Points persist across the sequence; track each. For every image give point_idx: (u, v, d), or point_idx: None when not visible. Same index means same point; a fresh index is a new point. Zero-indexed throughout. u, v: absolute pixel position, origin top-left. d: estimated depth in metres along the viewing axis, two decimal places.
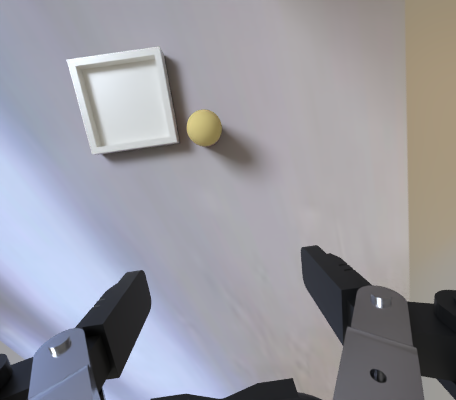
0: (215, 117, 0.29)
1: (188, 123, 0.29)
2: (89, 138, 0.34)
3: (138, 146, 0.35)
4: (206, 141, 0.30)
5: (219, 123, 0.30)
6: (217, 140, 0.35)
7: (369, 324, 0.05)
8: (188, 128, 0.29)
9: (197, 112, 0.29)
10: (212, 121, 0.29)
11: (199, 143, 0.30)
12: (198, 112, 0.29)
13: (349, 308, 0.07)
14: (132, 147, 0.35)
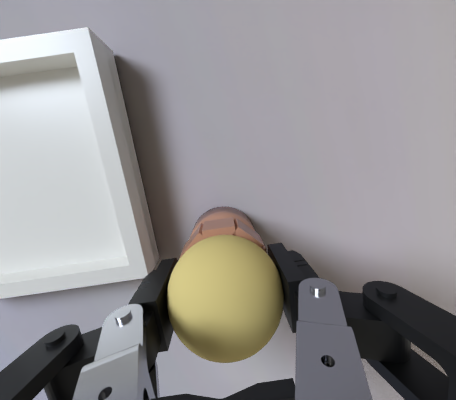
0: (270, 283, 0.08)
1: (171, 301, 0.08)
2: None
3: (49, 289, 0.14)
4: None
5: (281, 294, 0.08)
6: None
7: (299, 310, 0.06)
8: (171, 318, 0.08)
9: (204, 269, 0.08)
10: (263, 310, 0.07)
11: None
12: (207, 271, 0.08)
13: (295, 298, 0.08)
14: (34, 291, 0.14)
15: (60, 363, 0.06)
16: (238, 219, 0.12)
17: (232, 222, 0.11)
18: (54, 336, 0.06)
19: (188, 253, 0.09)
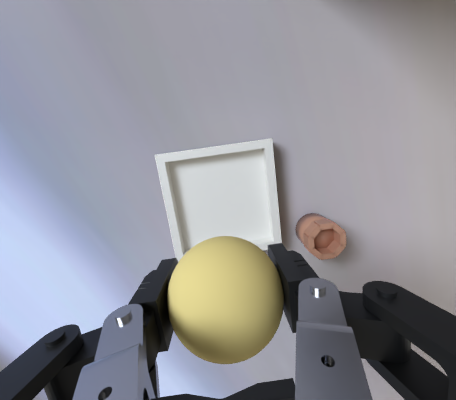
0: (270, 284, 0.08)
1: (171, 303, 0.08)
2: (175, 245, 0.28)
3: None
4: None
5: (281, 296, 0.08)
6: None
7: (299, 310, 0.06)
8: (171, 320, 0.08)
9: (204, 271, 0.08)
10: (264, 311, 0.07)
11: None
12: (208, 273, 0.08)
13: (295, 298, 0.08)
14: None
15: (60, 363, 0.06)
16: None
17: (330, 221, 0.26)
18: (54, 336, 0.06)
19: (188, 254, 0.09)
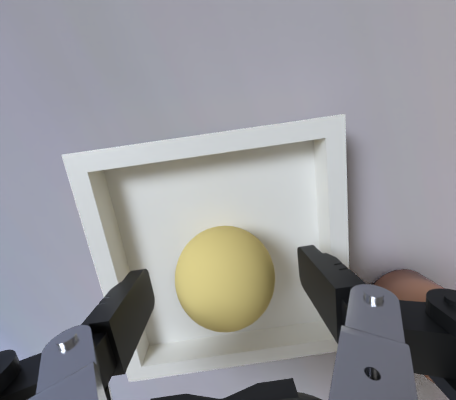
0: (263, 264, 0.09)
1: (179, 280, 0.10)
2: None
3: (250, 362, 0.13)
4: (233, 331, 0.10)
5: (272, 275, 0.10)
6: None
7: (361, 322, 0.06)
8: (179, 295, 0.10)
9: (207, 253, 0.09)
10: (257, 286, 0.09)
11: None
12: (210, 254, 0.09)
13: (343, 306, 0.07)
14: (234, 364, 0.13)
15: None
16: None
17: None
18: None
19: (193, 240, 0.10)
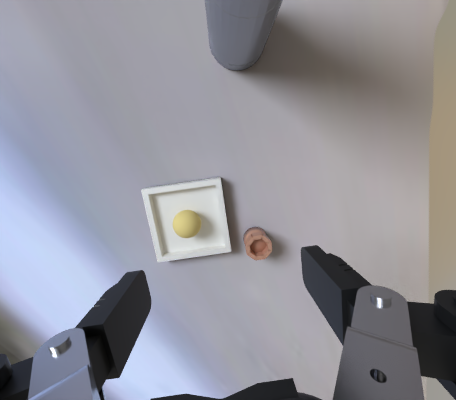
0: (195, 219, 0.36)
1: (173, 223, 0.37)
2: (156, 250, 0.40)
3: (198, 255, 0.40)
4: (188, 237, 0.37)
5: (198, 222, 0.37)
6: None
7: (369, 324, 0.05)
8: (173, 227, 0.37)
9: (180, 215, 0.36)
10: (192, 223, 0.36)
11: (182, 237, 0.37)
12: (181, 216, 0.36)
13: (349, 308, 0.07)
14: (192, 256, 0.40)
15: None
16: (262, 232, 0.39)
17: (261, 233, 0.38)
18: None
19: None
